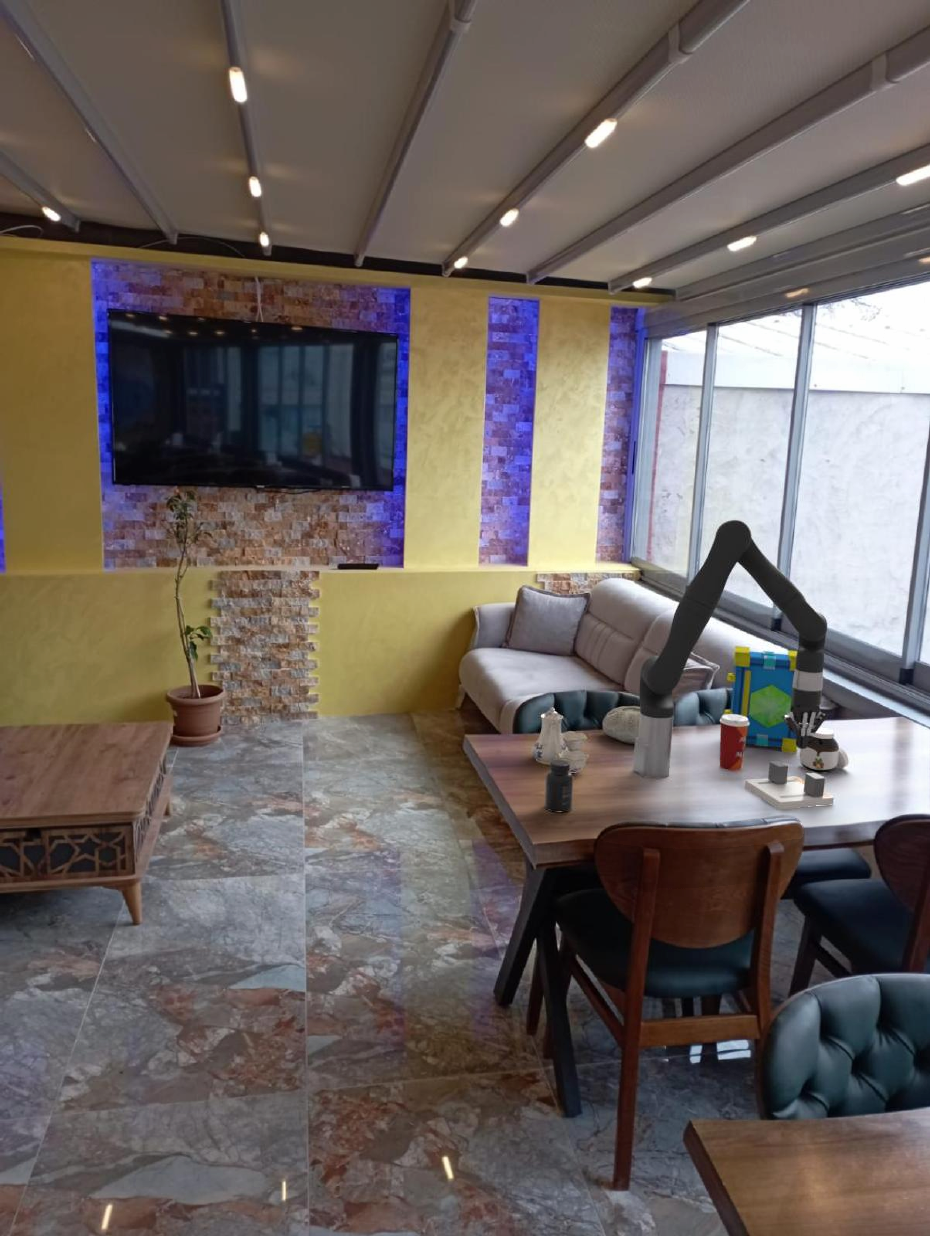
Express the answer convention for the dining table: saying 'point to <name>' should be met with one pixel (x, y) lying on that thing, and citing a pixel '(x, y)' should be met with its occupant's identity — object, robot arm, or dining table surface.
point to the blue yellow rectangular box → (764, 696)
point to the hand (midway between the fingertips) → (801, 747)
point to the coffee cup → (732, 741)
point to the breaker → (814, 784)
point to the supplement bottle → (559, 786)
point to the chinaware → (559, 743)
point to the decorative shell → (623, 723)
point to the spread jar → (823, 752)
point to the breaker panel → (786, 793)
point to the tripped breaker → (778, 772)
